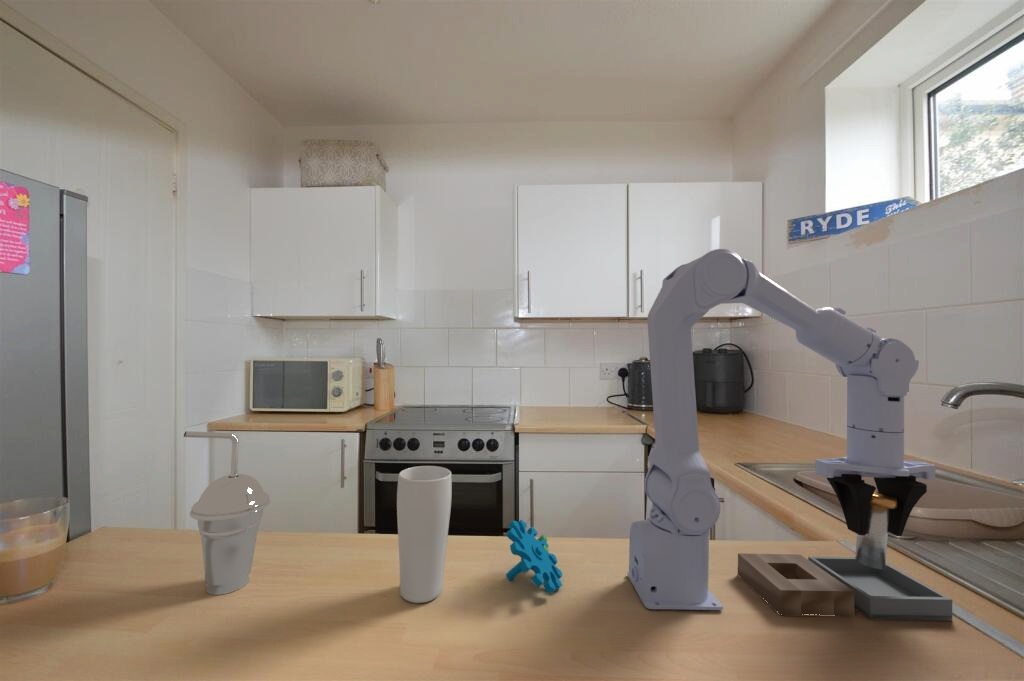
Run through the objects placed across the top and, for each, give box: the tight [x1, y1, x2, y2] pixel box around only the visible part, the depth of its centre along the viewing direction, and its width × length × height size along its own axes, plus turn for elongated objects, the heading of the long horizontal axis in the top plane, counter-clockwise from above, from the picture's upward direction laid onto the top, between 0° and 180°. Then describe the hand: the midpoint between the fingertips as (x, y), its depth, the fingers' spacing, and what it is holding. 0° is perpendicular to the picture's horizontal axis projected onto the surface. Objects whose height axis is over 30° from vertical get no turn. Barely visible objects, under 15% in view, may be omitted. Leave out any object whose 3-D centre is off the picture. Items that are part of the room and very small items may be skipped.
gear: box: [505, 519, 563, 595], centre depth 56 cm, size 11×6×10 cm
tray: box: [807, 556, 953, 622], centre depth 54 cm, size 10×10×2 cm
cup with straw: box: [183, 430, 271, 596], centre depth 53 cm, size 8×9×20 cm
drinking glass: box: [396, 465, 453, 604], centre depth 52 cm, size 7×7×15 cm
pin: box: [855, 490, 897, 569], centre depth 54 cm, size 4×4×9 cm
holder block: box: [737, 553, 855, 618], centre depth 54 cm, size 9×9×3 cm
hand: (874, 532), depth 54 cm, fingers closed on pin, 4 cm apart
